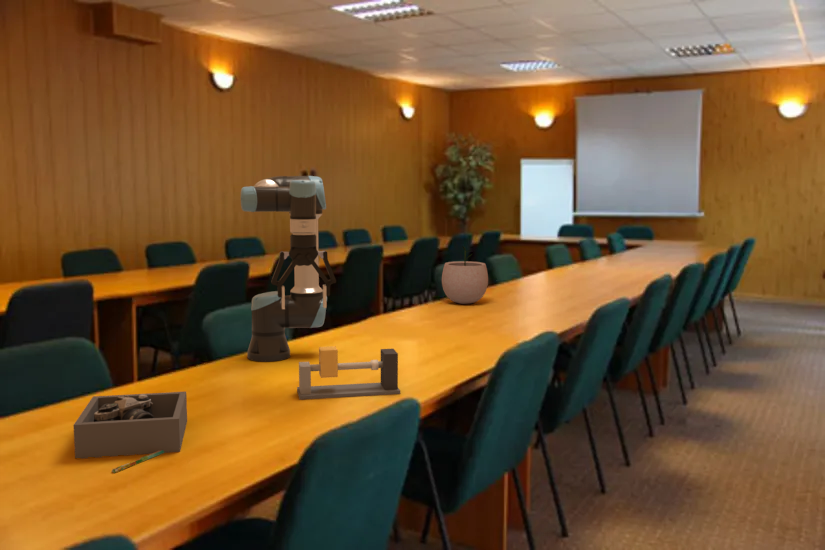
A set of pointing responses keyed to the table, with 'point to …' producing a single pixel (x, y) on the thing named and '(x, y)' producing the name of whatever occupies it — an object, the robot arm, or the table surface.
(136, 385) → the table surface
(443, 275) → the plant pot
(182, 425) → the open storage box
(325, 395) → the rail
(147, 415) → the camera
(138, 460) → the pencil
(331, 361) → the sleeve
